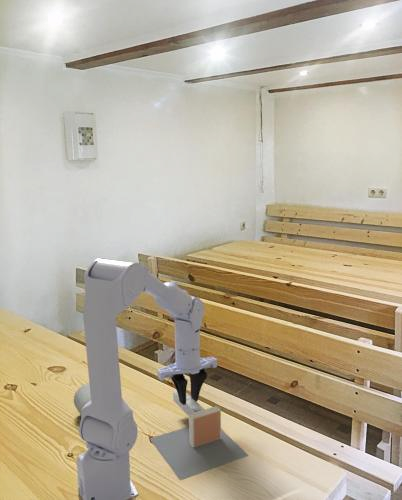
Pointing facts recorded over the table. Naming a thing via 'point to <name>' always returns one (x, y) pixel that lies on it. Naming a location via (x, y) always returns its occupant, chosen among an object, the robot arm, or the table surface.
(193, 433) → the tile
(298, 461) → the table surface
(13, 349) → the table surface
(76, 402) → the ceramic mug
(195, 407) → the bar
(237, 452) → the mat
